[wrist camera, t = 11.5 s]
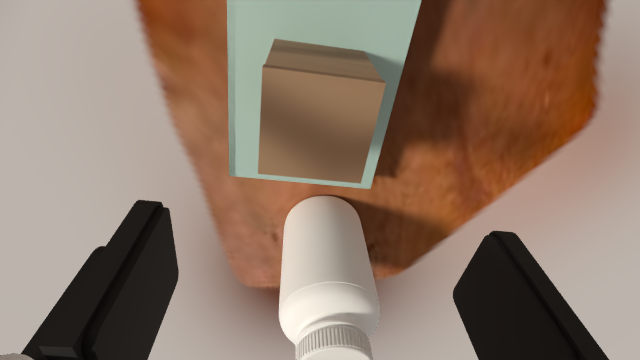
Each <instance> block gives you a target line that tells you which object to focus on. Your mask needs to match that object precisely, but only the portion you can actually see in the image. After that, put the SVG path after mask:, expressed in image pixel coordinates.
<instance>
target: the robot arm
mask: <svg viewBox="0 0 640 360" xmlns="http://www.w3.org/2000/svg"><path fill="white" fill-rule="evenodd" d="M177 281H178V265H177V258H176V251H175V244H174V238H173V231H172V224H171V218H170V211H169V209H168V208H165V207H163V205H162V203H161V202H157V201H145V200H138V201H136V203H135V204H134V206H133V207H132V208H131V210H130V211H129V213H128V214H127V216H126V217H125V219H124V220H123V222H122V223H121V225H120V226H119V227H118V229H117V230H116V232H115V234H114V235H113V236H112V238H111V239H110V241H109V242H108V244H107V245H106V246H100V247H98V248H97V249H95V250H94V251H93V252H92V254H91V255H90V256H89V258H88V259H87V261H86V262H85V264H84V265H83V266H82V268H81V269H80V271H79V272H78V273H77V275H76V276H75V278H74V279H73V281H72V282H71V283H70V285H69V286H68V288H67V289H66V290H65V292H64V293H63V295H62V296H61V298H60V299H59V301H58V302H57V303H56V305H55V306H54V307H53V309H52V310H51V312H50V313H49V315H48V316H47V317H46V319H45V320H44V322H43V323H42V325H41V326H40V327H39V329H38V330H37V332H36V333H35V334H34V336H33V337H32V339H31V340H30V342H29V343H28V344H27V346H26V347H25V349H24V350H23V351H22V353H21V354H14V353H13V354H7V355H0V360H147V359H148V357H149V354H150V352H151V349H152V346H153V343H154V341H155V338H156V336H157V333H158V331H159V328H160V325H161V323H162V320H163V318H164V315H165V313H166V310H167V308H168V305H169V302H170V300H171V297H172V294H173V292H174V289H175V287H176V284H177ZM453 299H454V302H455V305H456V307H457V309H458V312H459V314H460V317H461V319H462V321H463V324H464V326H465V328H466V331H467V333H468V335H469V338H470V340H471V342H472V345H473V347H474V350H475V352H476V354H477V357H478V359H479V360H609V359H608V358H607V356H606V355H605V353H604V352H603V351H602V349H601V348H600V347H599V345H598V344H597V343H596V341H595V340H594V339H593V337H592V336H591V335H590V333H589V332H588V331H587V329H586V328H585V326H584V325H583V324H582V322H581V321H580V320H579V319H578V317H577V316H576V314H575V313H574V312H573V310H572V309H571V308H570V306H569V305H568V303H567V302H566V301H565V300H564V298H563V297H562V295H561V294H560V293H559V292H558V290H557V289H556V287H555V286H554V284H553V283H552V282H551V281H550V279H549V278H548V276H547V275H546V274H545V272H544V271H543V270H542V268H541V267H540V266H539V264H538V263H537V261H536V260H535V259H534V258H533V256H532V255H531V254H530V252H529V251H528V250H527V248H526V247H525V245H524V244H523V243H522V241H521V240H520V238H519V237H518V236H517V235H516V234H515V233H513V232H503V231H492V232H491V233H490V234H489V235H487V236H485V237H484V239H483V241H482V242H481V244H480V246H479V247H478V249H477V251H476V252H475V254H474V256H473V257H472V259H471V261H470V263H469V264H468V266H467V268H466V269H465V271H464V273H463V274H462V276H461V278H460V280H459V281H458V283H457V285H456V286H455V288H454V290H453Z"/></svg>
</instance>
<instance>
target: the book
mask: <svg viewBox="0 0 640 360" xmlns="http://www.w3.org/2000/svg"><path fill="white" fill-rule="evenodd" d="M420 4H421V0H227V30H228V107H229V176H238V177H248V178H259V179H270V180H280V181H291V182H302V183H312V184H323V185H334V186H344V187H355V188H366V189H370V188H371V184H372V181H373V177H374V173H375V170H376V166H377V162H378V159H379V155H380V151H381V148H382V144H383V140H384V136H385V133H386V129H387V125H388V122H389V118H390V114H391V111H392V107H393V103H394V100H395V96H396V92H397V89H398V85H399V81H400V78H401V74H402V70H403V67H404V63H405V59H406V56H407V52H408V48H409V44H410V41H411V37H412V33H413V30H414V26H415V22H416V19H417V15H418V11H419V8H420ZM274 39H281V40H289V41H296V42H303V43H310V44H317V45H324V46H332V47H339V48H346V49H353V50H360V51H364V52H365V54H366V55H367V57H368V58H369V60H370V61H371V63H372V65H373V66H374V68H375V69H376V71H377V72H378V74H379V76H380V77H381V79H382V80H384V81H385V82H386V85H385V89H384V93H383V97H382V101H381V105H380V109H379V113H378V117H377V121H376V125H375V129H374V133H373V137H372V141H371V145H370V149H369V153H368V157H367V161H366V165H365V169H364V173H363V177H362V181H361V184H359V183H349V182H338V181H328V180H317V179H307V178H296V177H286V176H275V175H265V174H258V158H259V134H260V111H261V87H262V67H263V64H265V63H266V60H267V57H268V55H269V52H270V49H271V47H272V44H273V41H274Z"/></svg>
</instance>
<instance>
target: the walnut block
mask: <svg viewBox="0 0 640 360" xmlns="http://www.w3.org/2000/svg"><path fill="white" fill-rule="evenodd" d="M385 85H386V82H385V81H384V80H382V79H381V77H380V76H379V74H378V72H377V71H376V69H375V68H374V66H373V65H372V63H371V61H370V60H369V58H368V57H367V55H366V54H365V52H364V51H360V50H353V49H346V48H339V47H332V46H324V45H317V44H310V43H303V42H296V41H289V40H281V39H274V41H273V44H272V47H271V49H270V52H269V55H268V57H267V60H266V63H265V64H263V67H262V87H261V111H260V134H259V158H258V174H265V175H275V176H286V177H296V178H307V179H317V180H328V181H338V182H349V183H359V184H361V181H362V177H363V173H364V169H365V165H366V161H367V157H368V153H369V149H370V145H371V141H372V137H373V133H374V129H375V125H376V121H377V117H378V113H379V109H380V105H381V101H382V97H383V93H384V89H385Z"/></svg>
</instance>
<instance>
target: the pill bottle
mask: <svg viewBox="0 0 640 360" xmlns="http://www.w3.org/2000/svg"><path fill="white" fill-rule="evenodd" d="M379 318H380V305H379V299H378V295H377V291H376V287H375V282H374V278H373V273H372V269H371V265H370V260H369V256H368V252H367V247H366V243H365V239H364V234H363V230H362V226H361V221H360V219H359V216H358V214H357V212H356V210H355V209H354V208H353V207H352V206H351V205H350V204H349V203H347V202H346V201H344V200H342V199H340V198H337V197H333V196H314V197H310V198H307V199H305V200H303V201H301V202H300V203H298V204H297V205H296V206H294V207H293V209H292V210H291V211H290V212H289V214H288V216H287V218H286V222H285V226H284V239H283V255H282V271H281V286H280V302H279V320H280V324H281V327H282V330H283V331H284V333H285V335H286V336H287V338H288V339H289V340H290V341H292V342H293V343H294V344H295V345H296V360H373V358H372V353H371V347H370V342H369V337H370V336H371V335H372V334H373V333H374V331H375V330H376V328H377V325H378V322H379Z"/></svg>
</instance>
